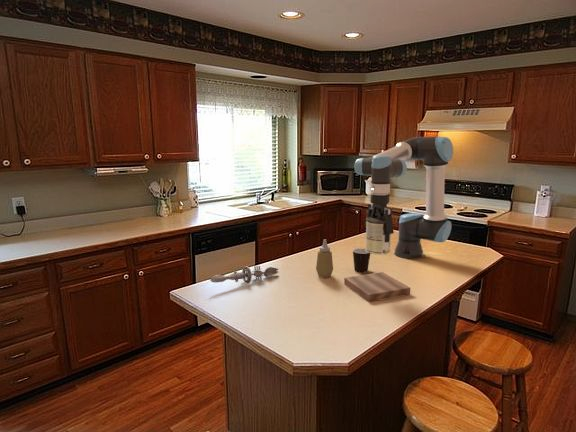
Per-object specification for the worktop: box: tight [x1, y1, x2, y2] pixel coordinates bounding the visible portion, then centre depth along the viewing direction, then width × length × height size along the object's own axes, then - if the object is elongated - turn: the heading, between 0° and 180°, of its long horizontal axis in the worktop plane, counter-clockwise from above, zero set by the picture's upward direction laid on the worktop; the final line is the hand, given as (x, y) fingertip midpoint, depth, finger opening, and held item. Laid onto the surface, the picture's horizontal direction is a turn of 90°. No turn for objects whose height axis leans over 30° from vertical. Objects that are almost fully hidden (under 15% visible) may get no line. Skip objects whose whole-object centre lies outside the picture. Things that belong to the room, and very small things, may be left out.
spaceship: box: [209, 265, 279, 285], centre depth 170 cm, size 8×35×8 cm
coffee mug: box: [352, 247, 371, 274], centre depth 184 cm, size 12×9×10 cm
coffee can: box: [365, 217, 392, 255], centre depth 158 cm, size 10×10×14 cm
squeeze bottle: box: [315, 239, 334, 279], centre depth 177 cm, size 8×8×18 cm
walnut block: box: [343, 271, 411, 303], centre depth 163 cm, size 20×20×3 cm
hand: (377, 245), depth 159 cm, fingers closed on coffee can, 10 cm apart
